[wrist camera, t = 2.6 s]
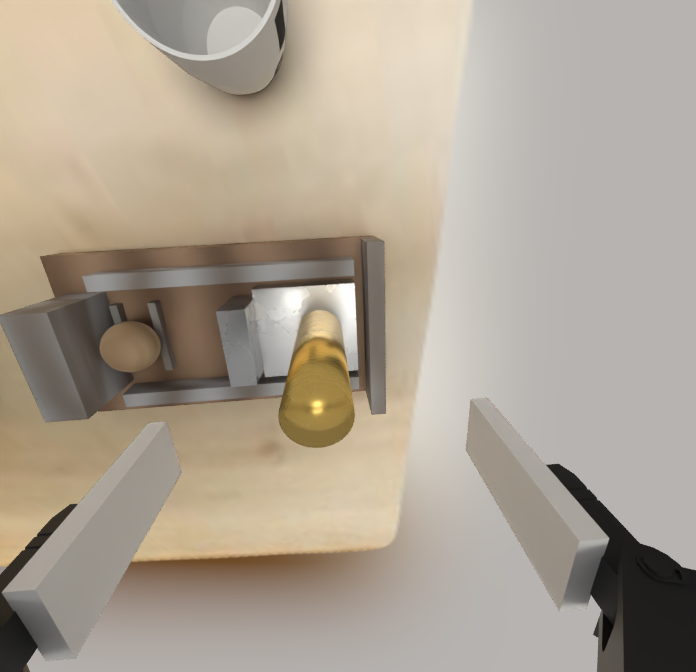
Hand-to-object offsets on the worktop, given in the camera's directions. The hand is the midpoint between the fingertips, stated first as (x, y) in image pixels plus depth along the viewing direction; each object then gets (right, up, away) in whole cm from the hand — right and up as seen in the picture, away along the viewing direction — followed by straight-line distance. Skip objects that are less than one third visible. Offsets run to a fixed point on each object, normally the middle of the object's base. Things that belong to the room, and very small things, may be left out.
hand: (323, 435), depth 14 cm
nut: (-16, +4, +13) cm, 21 cm away
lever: (-3, +5, +14) cm, 15 cm away
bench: (-9, +6, +16) cm, 19 cm away
